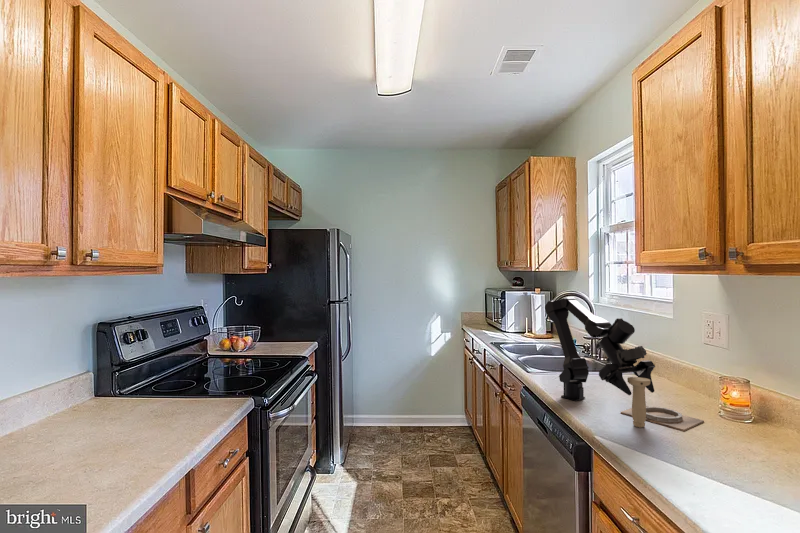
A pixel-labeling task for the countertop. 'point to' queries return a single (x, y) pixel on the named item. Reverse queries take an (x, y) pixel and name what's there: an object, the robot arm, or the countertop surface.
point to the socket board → (668, 418)
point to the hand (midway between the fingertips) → (642, 393)
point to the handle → (638, 400)
